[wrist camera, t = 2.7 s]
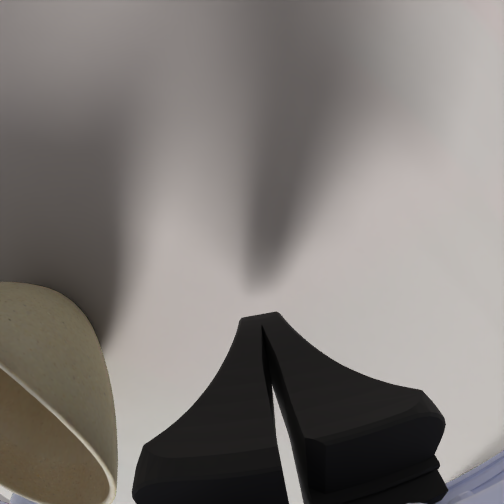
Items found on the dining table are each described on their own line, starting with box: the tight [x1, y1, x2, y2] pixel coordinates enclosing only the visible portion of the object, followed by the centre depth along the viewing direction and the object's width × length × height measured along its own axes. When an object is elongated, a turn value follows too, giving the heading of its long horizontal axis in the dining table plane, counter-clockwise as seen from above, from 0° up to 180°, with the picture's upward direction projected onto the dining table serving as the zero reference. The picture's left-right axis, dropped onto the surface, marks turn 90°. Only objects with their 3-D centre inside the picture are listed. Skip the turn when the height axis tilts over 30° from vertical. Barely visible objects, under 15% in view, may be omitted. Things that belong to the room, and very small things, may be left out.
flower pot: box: [0, 282, 118, 504], centre depth 10 cm, size 10×10×7 cm
